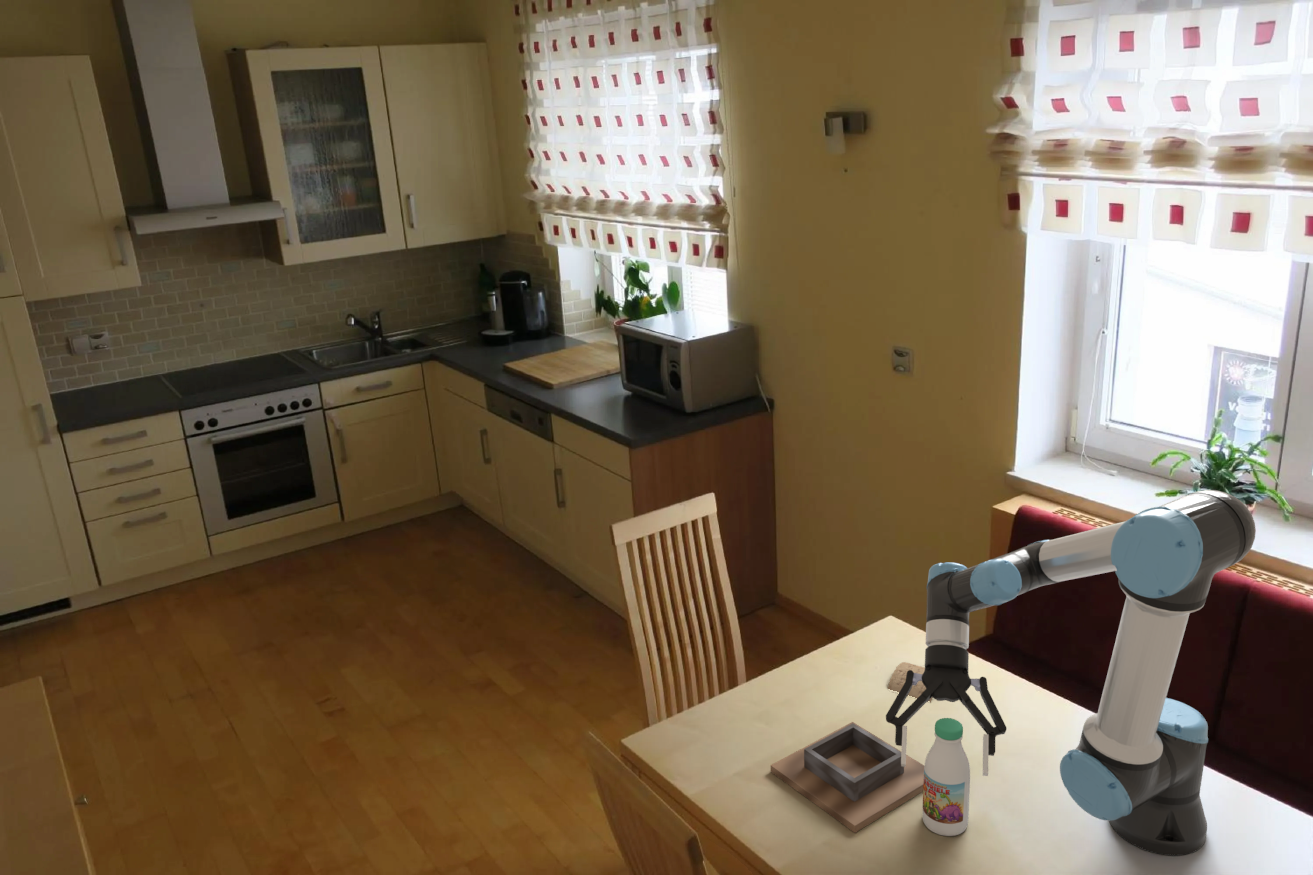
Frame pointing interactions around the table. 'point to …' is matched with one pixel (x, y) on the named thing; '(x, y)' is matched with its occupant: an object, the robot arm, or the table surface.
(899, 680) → the clay tablet
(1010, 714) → the table surface
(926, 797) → the milk bottle
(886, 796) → the bottle stand
